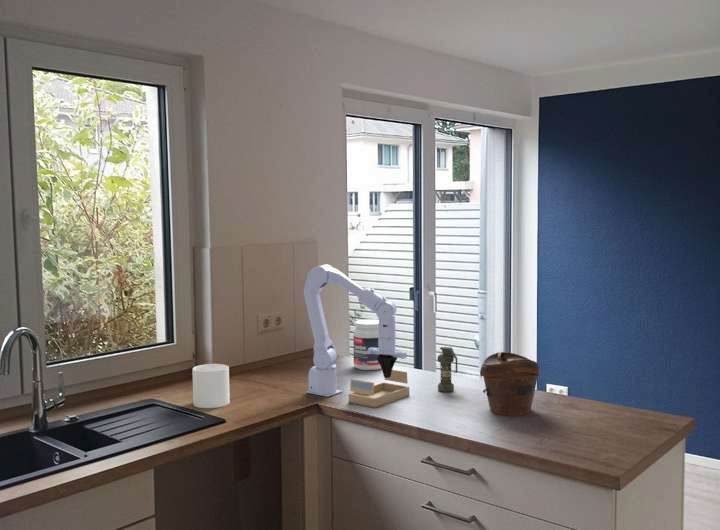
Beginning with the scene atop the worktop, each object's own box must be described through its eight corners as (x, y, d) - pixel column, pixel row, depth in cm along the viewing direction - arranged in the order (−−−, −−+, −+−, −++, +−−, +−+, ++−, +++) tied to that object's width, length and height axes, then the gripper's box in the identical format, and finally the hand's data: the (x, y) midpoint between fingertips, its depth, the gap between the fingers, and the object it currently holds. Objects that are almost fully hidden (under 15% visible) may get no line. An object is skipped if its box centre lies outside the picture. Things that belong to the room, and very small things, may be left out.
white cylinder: (237, 403, 238) (236, 367, 237) (207, 410, 229) (206, 373, 228) (215, 396, 246) (214, 362, 245) (186, 404, 237) (185, 368, 236)
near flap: (350, 390, 236) (349, 391, 235) (351, 378, 235) (350, 378, 235) (373, 395, 230) (372, 395, 229) (374, 382, 230) (373, 382, 229)
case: (499, 398, 239) (499, 344, 237) (553, 410, 225) (553, 353, 223) (466, 410, 227) (465, 353, 225) (521, 423, 212) (521, 363, 211)
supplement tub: (351, 370, 282) (350, 324, 281) (356, 363, 295) (356, 319, 293) (383, 371, 280) (383, 324, 279) (387, 364, 293) (387, 319, 291)
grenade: (436, 392, 248) (435, 348, 247) (441, 387, 254) (440, 345, 253) (454, 393, 246) (454, 350, 245) (458, 389, 252) (458, 346, 250)
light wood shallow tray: (348, 402, 236) (348, 393, 236) (383, 390, 251) (383, 382, 251) (375, 408, 229) (375, 398, 229) (409, 395, 244) (409, 386, 244)
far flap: (384, 368, 250) (384, 368, 250) (384, 379, 250) (385, 379, 250) (406, 372, 244) (407, 371, 244) (407, 383, 244) (407, 383, 245)
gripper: (362, 336, 243) (362, 376, 245) (397, 341, 234) (397, 382, 235) (375, 333, 249) (375, 372, 250) (409, 338, 240) (410, 378, 241)
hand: (387, 377), depth 243 cm, fingers closed
